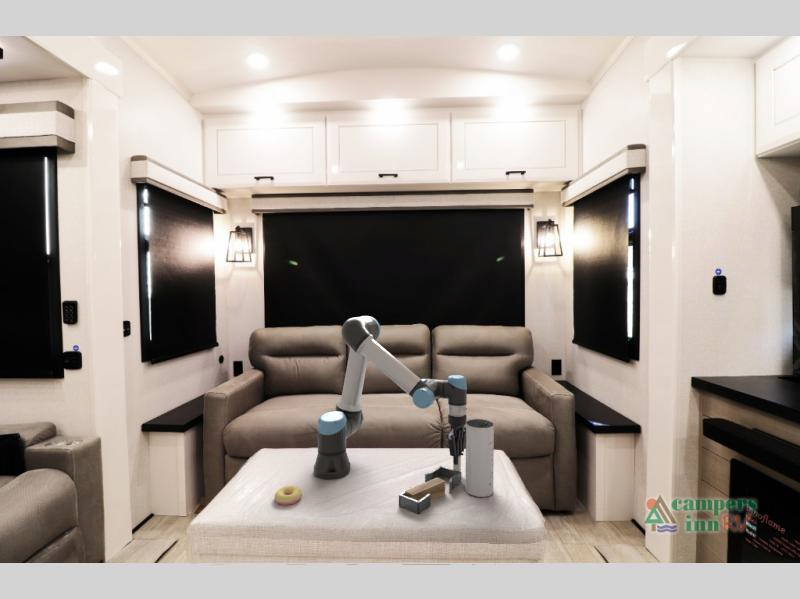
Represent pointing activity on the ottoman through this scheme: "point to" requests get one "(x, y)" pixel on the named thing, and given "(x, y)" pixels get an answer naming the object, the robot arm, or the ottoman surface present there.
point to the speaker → (479, 457)
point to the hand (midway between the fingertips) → (457, 471)
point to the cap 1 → (414, 503)
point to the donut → (288, 495)
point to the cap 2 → (445, 476)
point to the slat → (427, 489)
